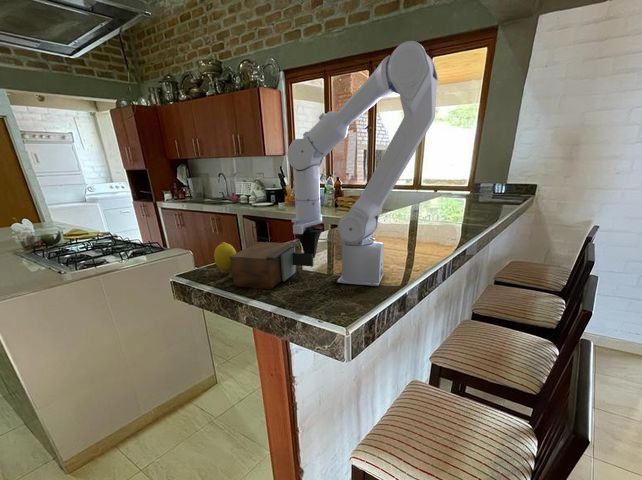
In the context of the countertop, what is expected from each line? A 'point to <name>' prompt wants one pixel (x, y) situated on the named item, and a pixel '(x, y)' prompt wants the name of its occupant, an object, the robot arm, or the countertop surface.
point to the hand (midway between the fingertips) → (310, 257)
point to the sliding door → (294, 262)
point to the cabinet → (259, 265)
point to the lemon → (224, 256)
